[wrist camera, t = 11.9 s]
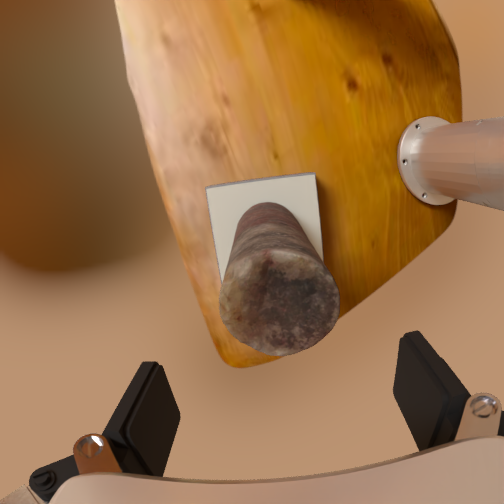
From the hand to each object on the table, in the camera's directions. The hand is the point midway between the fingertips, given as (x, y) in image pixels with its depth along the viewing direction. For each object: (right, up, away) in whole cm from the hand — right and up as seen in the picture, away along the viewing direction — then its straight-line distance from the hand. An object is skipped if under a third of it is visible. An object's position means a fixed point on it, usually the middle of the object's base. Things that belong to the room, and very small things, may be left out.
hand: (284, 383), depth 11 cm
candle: (+1, +7, +26) cm, 27 cm away
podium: (+1, +8, +29) cm, 30 cm away
